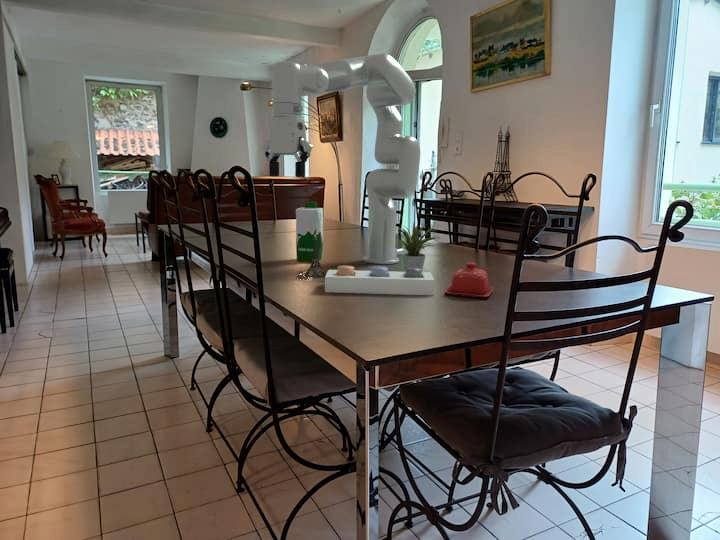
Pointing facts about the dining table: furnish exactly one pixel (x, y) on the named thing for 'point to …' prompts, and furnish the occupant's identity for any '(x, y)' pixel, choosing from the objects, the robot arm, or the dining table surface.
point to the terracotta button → (345, 271)
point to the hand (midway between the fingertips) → (287, 176)
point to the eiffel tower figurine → (313, 267)
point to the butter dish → (470, 282)
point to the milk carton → (309, 231)
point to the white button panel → (379, 283)
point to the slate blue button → (379, 271)
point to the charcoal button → (413, 272)
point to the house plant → (414, 247)
